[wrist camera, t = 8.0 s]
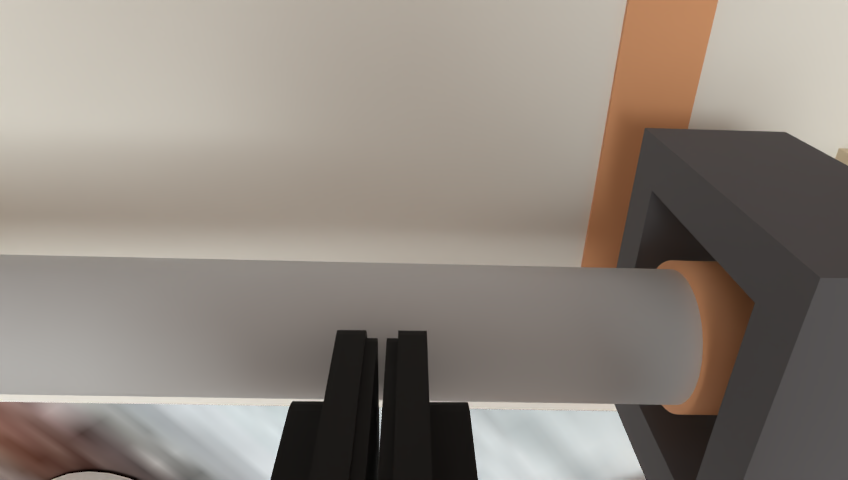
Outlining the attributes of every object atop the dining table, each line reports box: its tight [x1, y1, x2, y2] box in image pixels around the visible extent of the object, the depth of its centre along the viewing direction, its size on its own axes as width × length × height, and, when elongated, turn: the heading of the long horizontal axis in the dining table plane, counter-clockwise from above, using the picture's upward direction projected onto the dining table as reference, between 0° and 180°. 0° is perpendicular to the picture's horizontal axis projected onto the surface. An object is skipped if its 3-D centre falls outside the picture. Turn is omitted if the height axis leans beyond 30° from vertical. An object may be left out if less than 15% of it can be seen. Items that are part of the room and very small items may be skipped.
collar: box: [615, 128, 848, 480], centre depth 14 cm, size 7×4×7 cm, turn 178°
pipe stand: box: [0, 0, 848, 415], centre depth 16 cm, size 16×36×9 cm, turn 88°
